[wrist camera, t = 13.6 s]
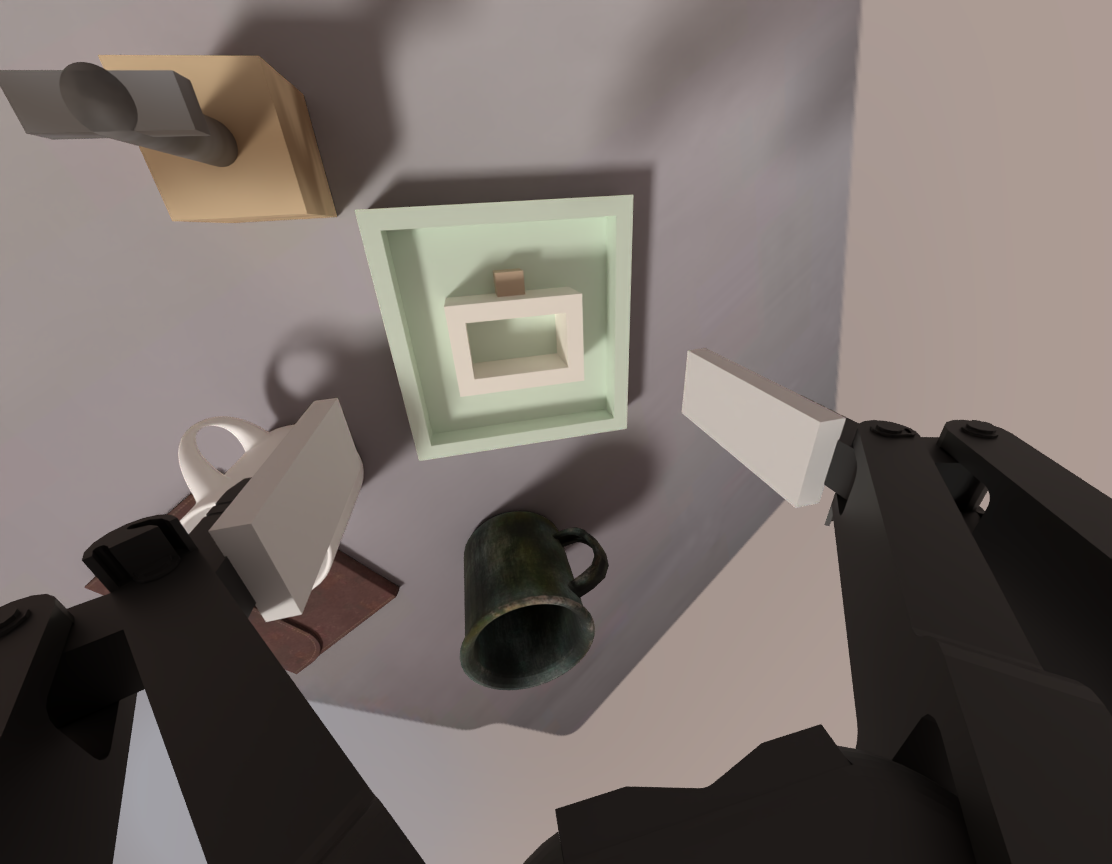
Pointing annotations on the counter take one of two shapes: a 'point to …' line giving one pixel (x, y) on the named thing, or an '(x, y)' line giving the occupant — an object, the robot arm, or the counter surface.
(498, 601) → the mug
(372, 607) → the notebook
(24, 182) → the counter surface
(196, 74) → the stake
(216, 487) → the mug
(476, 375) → the ring
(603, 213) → the tray
